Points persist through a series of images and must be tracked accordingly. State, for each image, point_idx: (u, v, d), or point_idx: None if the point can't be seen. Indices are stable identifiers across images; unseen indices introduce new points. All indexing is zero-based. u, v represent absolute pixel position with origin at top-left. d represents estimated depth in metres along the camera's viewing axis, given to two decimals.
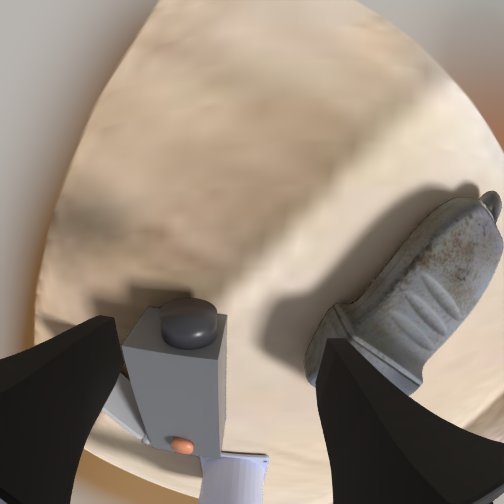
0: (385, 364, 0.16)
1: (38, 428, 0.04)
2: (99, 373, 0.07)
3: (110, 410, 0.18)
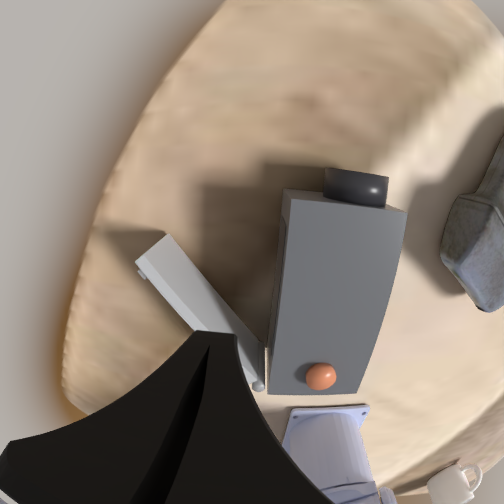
0: None
1: (176, 477, 0.04)
2: None
3: None
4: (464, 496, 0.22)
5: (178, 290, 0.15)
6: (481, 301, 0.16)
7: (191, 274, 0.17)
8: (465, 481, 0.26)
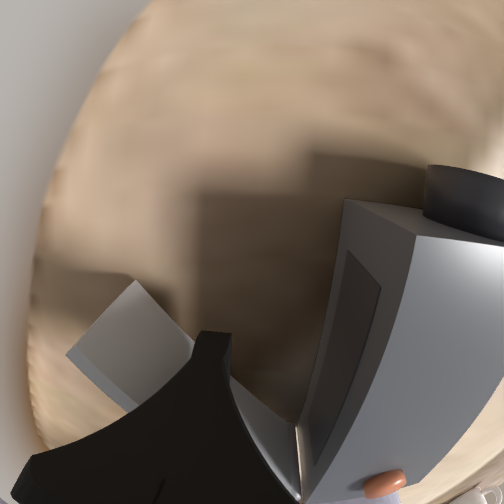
0: None
1: None
2: None
3: None
4: None
5: None
6: None
7: (178, 353, 0.09)
8: None
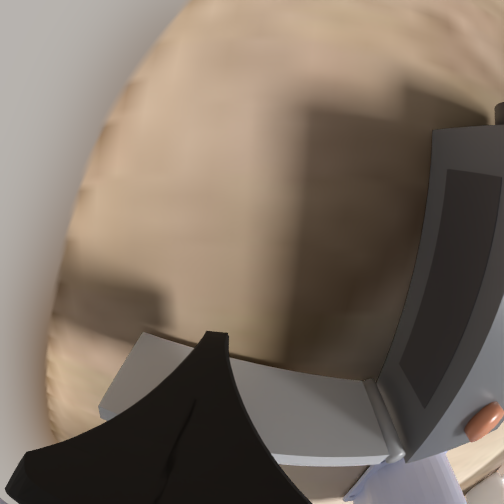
0: None
1: None
2: None
3: (294, 450, 0.07)
4: None
5: None
6: None
7: None
8: None
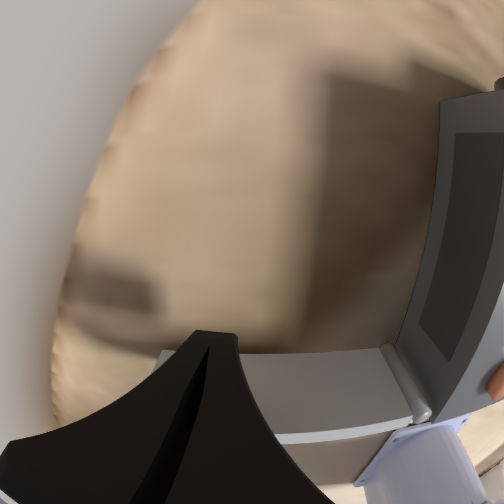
0: None
1: (176, 477, 0.04)
2: None
3: (312, 427, 0.08)
4: None
5: None
6: None
7: None
8: None
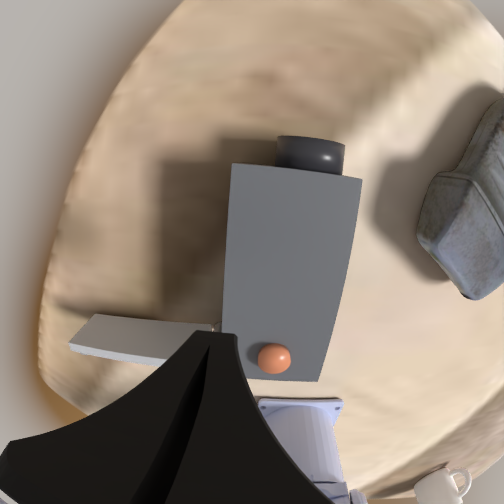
0: (496, 224, 0.13)
1: (176, 477, 0.04)
2: None
3: (143, 354, 0.16)
4: (452, 501, 0.22)
5: (99, 345, 0.16)
6: (465, 287, 0.15)
7: (117, 325, 0.19)
8: (454, 486, 0.26)
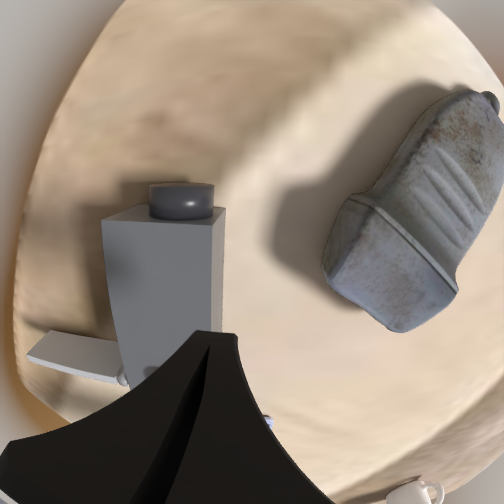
0: (416, 253, 0.14)
1: (176, 477, 0.04)
2: None
3: (75, 367, 0.17)
4: None
5: (47, 357, 0.17)
6: (381, 320, 0.16)
7: (64, 341, 0.20)
8: (426, 499, 0.26)
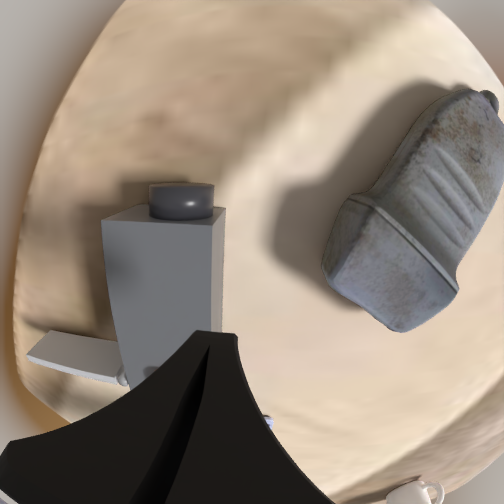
0: (416, 253, 0.14)
1: (176, 477, 0.04)
2: None
3: (75, 367, 0.17)
4: None
5: (47, 357, 0.17)
6: (382, 320, 0.16)
7: (64, 341, 0.20)
8: (426, 499, 0.26)
